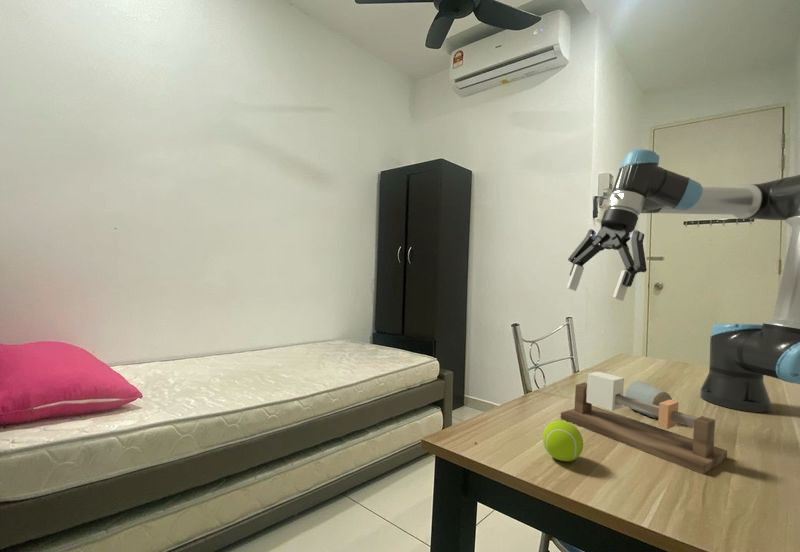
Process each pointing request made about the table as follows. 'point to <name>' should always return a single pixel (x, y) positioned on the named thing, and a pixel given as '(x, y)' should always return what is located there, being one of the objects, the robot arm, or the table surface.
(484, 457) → the table surface
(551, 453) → the tennis ball
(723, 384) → the robot arm
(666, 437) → the rail stand
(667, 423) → the band
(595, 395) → the sleeve
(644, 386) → the pale blue cylinder
